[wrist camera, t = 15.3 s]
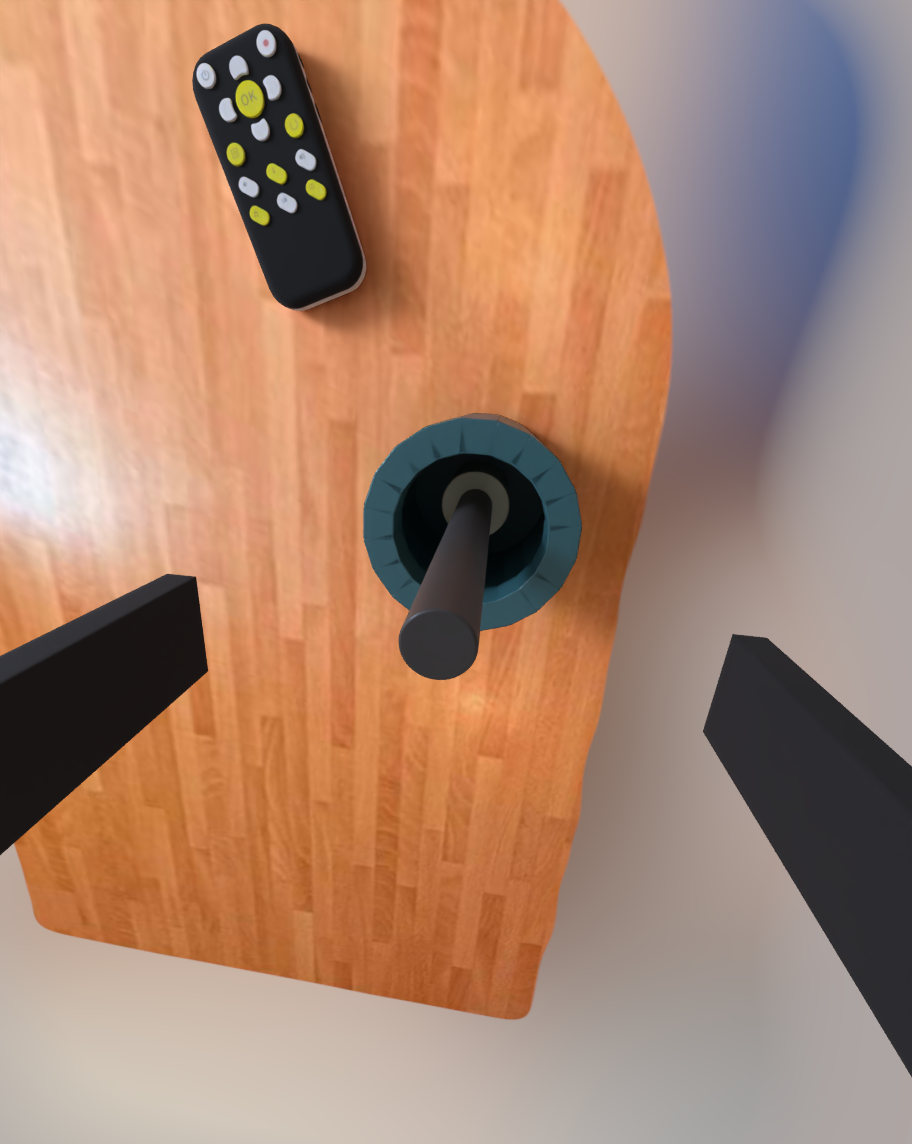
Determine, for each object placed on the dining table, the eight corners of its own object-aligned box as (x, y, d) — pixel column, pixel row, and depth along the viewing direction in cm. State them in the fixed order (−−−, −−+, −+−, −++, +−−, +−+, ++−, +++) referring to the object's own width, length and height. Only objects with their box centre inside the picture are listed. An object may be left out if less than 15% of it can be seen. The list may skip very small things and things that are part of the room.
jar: (564, 419, 31) (598, 428, 20) (543, 563, 34) (563, 641, 23) (412, 407, 32) (363, 409, 20) (407, 550, 35) (362, 619, 24)
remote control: (289, 319, 30) (275, 314, 29) (198, 82, 27) (175, 58, 25) (375, 284, 29) (367, 276, 27) (293, 31, 26) (277, 2, 24)
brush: (511, 463, 31) (529, 578, 11) (505, 521, 33) (509, 722, 12) (452, 458, 32) (358, 562, 11) (448, 516, 33) (358, 705, 12)
